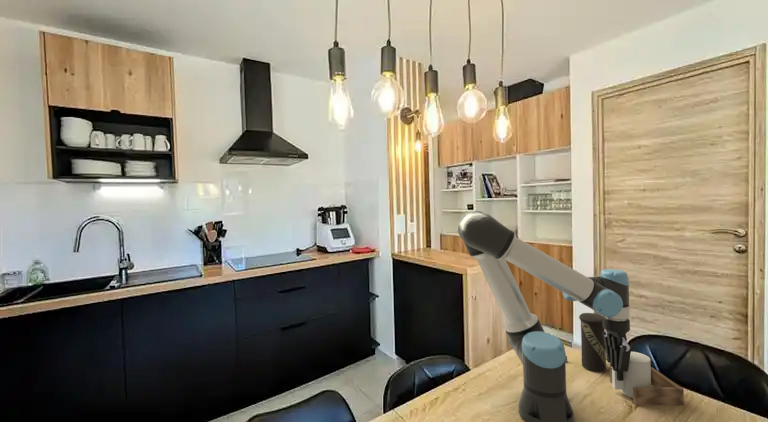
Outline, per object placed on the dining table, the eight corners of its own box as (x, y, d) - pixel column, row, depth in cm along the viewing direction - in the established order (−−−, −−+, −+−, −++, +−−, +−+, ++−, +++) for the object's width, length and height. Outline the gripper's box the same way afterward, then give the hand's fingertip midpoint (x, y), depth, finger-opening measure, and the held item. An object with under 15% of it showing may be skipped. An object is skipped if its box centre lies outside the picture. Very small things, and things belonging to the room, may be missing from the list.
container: (583, 371, 131) (582, 318, 130) (578, 360, 140) (576, 310, 139) (610, 373, 128) (609, 319, 128) (603, 362, 137) (601, 311, 136)
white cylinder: (656, 400, 111) (655, 362, 111) (628, 398, 113) (627, 361, 112) (643, 386, 119) (642, 351, 119) (616, 385, 121) (615, 350, 120)
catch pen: (635, 405, 109) (635, 389, 109) (610, 381, 123) (609, 367, 123) (683, 405, 108) (683, 389, 108) (652, 381, 122) (652, 367, 122)
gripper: (640, 324, 109) (643, 399, 109) (616, 310, 122) (618, 378, 122) (615, 324, 109) (617, 399, 110) (593, 311, 122) (595, 378, 123)
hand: (618, 388), depth 116 cm, fingers closed
